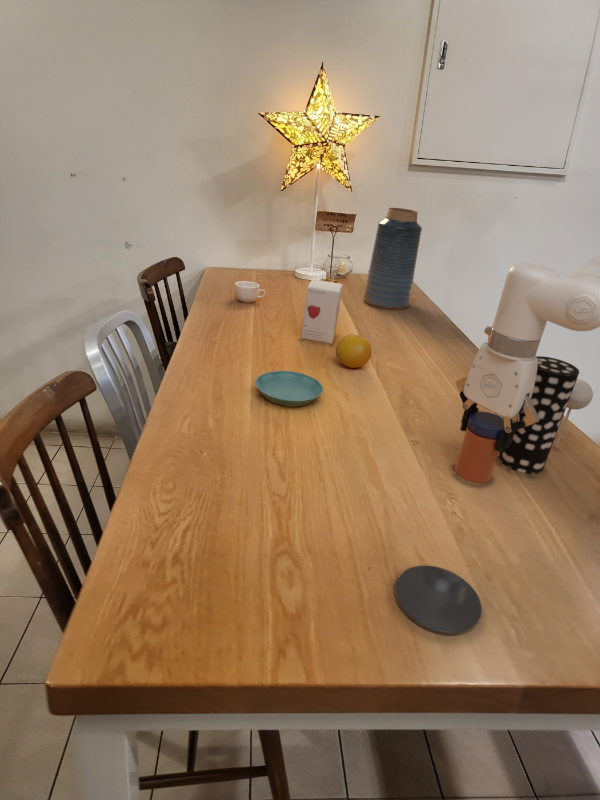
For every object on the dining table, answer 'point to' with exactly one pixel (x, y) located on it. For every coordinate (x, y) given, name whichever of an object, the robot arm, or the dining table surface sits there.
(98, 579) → the dining table surface
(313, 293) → the rectangular carton
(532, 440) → the spotted tube
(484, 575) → the dining table surface
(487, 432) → the lid
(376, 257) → the vase
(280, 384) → the saucer
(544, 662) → the dining table surface
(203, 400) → the dining table surface
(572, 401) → the lollipop
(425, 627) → the coaster
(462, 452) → the jar
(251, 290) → the teacup
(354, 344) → the fruit
